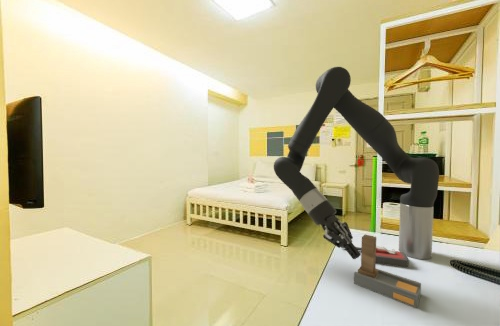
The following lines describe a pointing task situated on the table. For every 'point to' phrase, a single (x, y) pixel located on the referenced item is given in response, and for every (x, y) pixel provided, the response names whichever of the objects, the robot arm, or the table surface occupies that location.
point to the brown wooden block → (368, 257)
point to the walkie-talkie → (390, 257)
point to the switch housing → (391, 286)
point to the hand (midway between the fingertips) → (357, 257)
